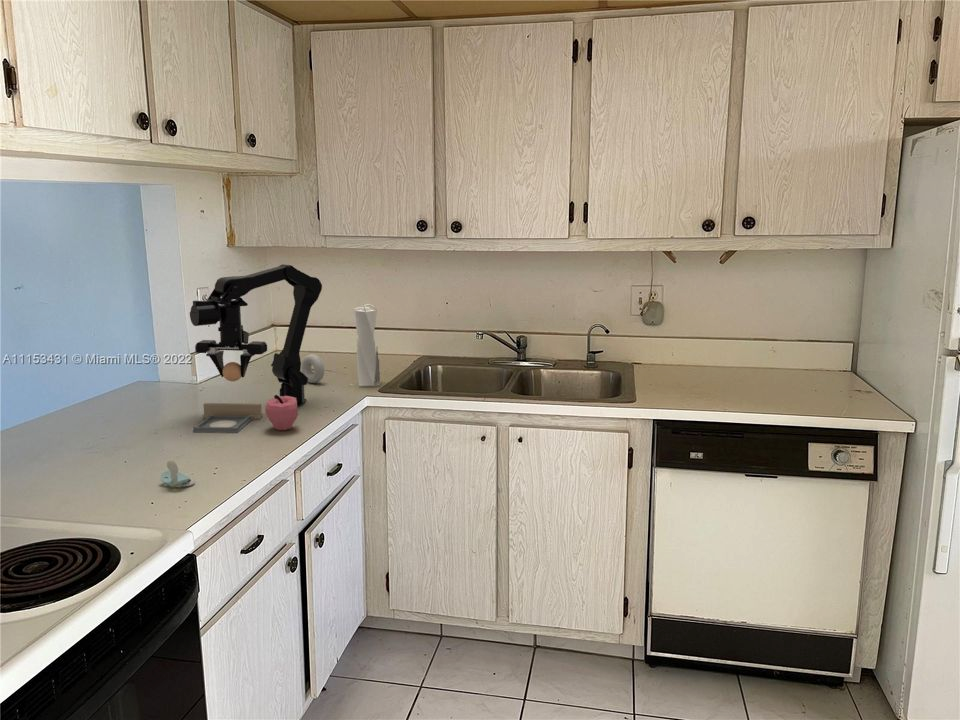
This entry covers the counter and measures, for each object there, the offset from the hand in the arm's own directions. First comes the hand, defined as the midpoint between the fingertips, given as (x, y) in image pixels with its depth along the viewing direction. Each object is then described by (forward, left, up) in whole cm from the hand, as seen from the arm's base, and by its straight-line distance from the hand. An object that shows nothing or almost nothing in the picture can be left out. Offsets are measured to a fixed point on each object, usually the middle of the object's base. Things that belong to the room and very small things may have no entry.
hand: (232, 376), depth 206 cm
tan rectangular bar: (0, +3, -11) cm, 12 cm away
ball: (0, 0, +1) cm, 2 cm away
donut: (-13, -39, -12) cm, 43 cm away
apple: (-17, +13, -12) cm, 24 cm away
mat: (0, +11, -11) cm, 15 cm away
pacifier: (-6, +53, -12) cm, 54 cm away
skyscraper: (-32, -37, -12) cm, 51 cm away
